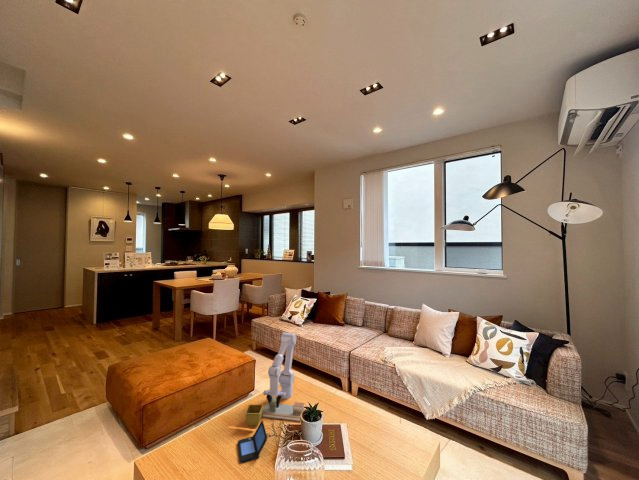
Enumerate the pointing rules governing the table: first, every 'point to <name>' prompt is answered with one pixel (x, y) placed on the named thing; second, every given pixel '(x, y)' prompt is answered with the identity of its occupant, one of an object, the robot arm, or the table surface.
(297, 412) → the terracotta tin
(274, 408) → the sage tin
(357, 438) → the table surface
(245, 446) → the handheld game console
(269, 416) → the shelf
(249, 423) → the flower pot
